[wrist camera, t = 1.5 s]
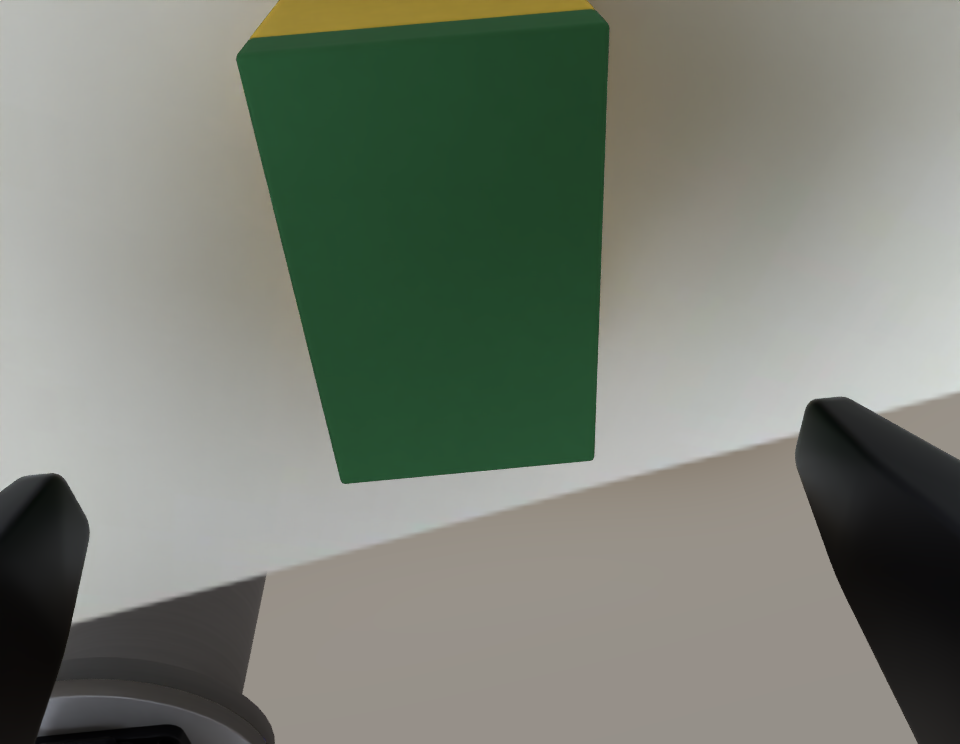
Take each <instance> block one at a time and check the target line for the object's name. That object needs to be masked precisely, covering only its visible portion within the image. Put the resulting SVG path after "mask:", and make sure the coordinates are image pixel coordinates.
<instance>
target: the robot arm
mask: <svg viewBox="0 0 960 744" xmlns="http://www.w3.org/2000/svg"><path fill="white" fill-rule="evenodd" d="M795 460H796V466H797V469H798V472H799V475H800V478H801V481H802V484H803V486H804V489H805V492H806V495H807V498H808V500H809V503H810V506H811V509H812V512H813V514H814V517H815V520H816V523H817V526H818V528H819V531H820V534H821V537H822V540H823V542H824V545H825V548H826V551H827V554H828V556H829V559H830V562H831V564H832V567H833V569H834V572H835V575H836V577H837V579H838V581H839V584H840V586H841V588H842V590H843V592H844V595H845V597H846V599H847V601H848V603H849V605H850V607H851V609H852V611H853V613H854V615H855V617H856V619H857V621H858V623H859V625H860V627H861V629H862V631H863V633H864V635H865V637H866V639H867V641H868V643H869V645H870V647H871V649H872V651H873V653H874V655H875V658H876V659H877V661H878V663H879V666H880V668H881V670H882V672H883V674H884V676H885V678H886V680H887V682H888V684H889V686H890V688H891V690H892V692H893V694H894V696H895V698H896V700H897V702H898V704H899V706H900V708H901V710H902V712H903V714H904V716H905V718H906V720H907V722H908V724H909V726H910V728H911V730H912V732H913V734H914V736H915V738H916V741H917V742H918V744H960V460H959V459H957V458H955V457H953V456H951V455H950V454H948V453H946V452H944V451H942V450H941V449H939V448H937V447H935V446H933V445H931V444H930V443H928V442H926V441H924V440H923V439H921V438H919V437H917V436H916V435H914V434H912V433H910V432H908V431H907V430H905V429H903V428H901V427H899V426H898V425H896V424H894V423H892V422H890V421H889V420H887V419H885V418H883V417H882V416H880V415H878V414H876V413H874V412H873V411H871V410H869V409H867V408H865V407H864V406H862V405H860V404H858V403H856V402H855V401H853V400H851V399H849V398H846V397H831V398H821V399H814V400H812V401H810V402H809V404H808V405H807V407H806V409H805V413H804V417H803V421H802V425H801V429H800V433H799V437H798V441H797V445H796V451H795ZM89 534H90V530H89V524H88V520H87V518H86V516H85V514H84V512H83V510H82V509H81V507H80V505H79V503H78V501H77V500H76V498H75V496H74V494H73V493H72V491H71V489H70V487H69V485H68V484H67V482H66V480H65V479H64V478H63V477H62V476H60V475H59V474H54V473H49V474H39V475H29V476H24V477H21V478H19V479H17V480H16V481H14V482H13V483H12V484H10V485H9V486H8V487H6V488H5V489H4V490H2V491H1V492H0V744H191V742H190V740H189V739H188V737H187V735H186V733H185V732H184V730H183V729H182V728H181V727H178V726H176V725H172V724H162V725H152V726H142V727H131V728H121V729H111V730H101V731H91V732H81V733H70V734H60V735H50V736H40V737H37V735H38V732H39V729H40V726H41V723H42V720H43V717H44V714H45V711H46V708H47V705H48V702H49V699H50V696H51V693H52V690H53V687H54V684H55V681H56V678H57V675H58V672H59V669H60V666H61V662H62V659H63V656H64V652H65V648H66V644H67V640H68V636H69V631H70V627H71V622H72V617H73V613H74V608H75V603H76V598H77V594H78V589H79V584H80V580H81V575H82V570H83V566H84V561H85V556H86V552H87V547H88V542H89Z"/></svg>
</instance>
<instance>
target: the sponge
mask: <svg viewBox="0 0 960 744" xmlns="http://www.w3.org/2000/svg"><path fill="white" fill-rule="evenodd" d="M608 53H609V25H608V23H607V22H606V21H605V20H604V19H603V17H602V16H601V15H600V14H599V13H598V12H597V11H596V10H595V9H594V7H593V6H592V5H591V4H590V3H589V2H588V1H587V0H279V1H278V3H277V4H276V5H275V7H274V8H273V9H272V10H271V12H270V13H269V14H268V15H267V17H266V18H265V19H264V21H263V22H262V23H261V24H260V26H259V27H258V28H257V29H256V31H255V32H254V33H253V35H252V36H251V37H250V40H248V41H247V43H246V44H245V45H244V47H243V48H242V49H241V50H240V52H239V53H238V54H237V58H236V61H237V65H238V69H239V73H240V77H241V81H242V85H243V89H244V93H245V97H246V101H247V105H248V109H249V113H250V117H251V121H252V125H253V129H254V133H255V137H256V141H257V145H258V149H259V153H260V157H261V161H262V165H263V169H264V174H265V178H266V182H267V186H268V190H269V194H270V198H271V202H272V206H273V210H274V214H275V218H276V222H277V226H278V230H279V234H280V238H281V242H282V246H283V250H284V254H285V258H286V262H287V266H288V270H289V274H290V278H291V282H292V286H293V290H294V294H295V298H296V302H297V306H298V311H299V315H300V319H301V323H302V327H303V331H304V335H305V339H306V343H307V347H308V351H309V355H310V359H311V363H312V367H313V371H314V375H315V379H316V383H317V387H318V391H319V395H320V399H321V403H322V407H323V411H324V415H325V419H326V423H327V427H328V431H329V435H330V439H331V443H332V448H333V452H334V456H335V460H336V464H337V468H338V472H339V476H340V480H341V482H342V483H344V484H349V483H359V482H370V481H381V480H391V479H402V478H412V477H423V476H434V475H444V474H455V473H466V472H476V471H487V470H497V469H508V468H519V467H529V466H540V465H550V464H561V463H572V462H582V461H591V460H593V458H594V450H595V422H596V393H597V365H598V337H599V308H600V280H601V251H602V223H603V195H604V166H605V138H606V110H607V81H608Z"/></svg>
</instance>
